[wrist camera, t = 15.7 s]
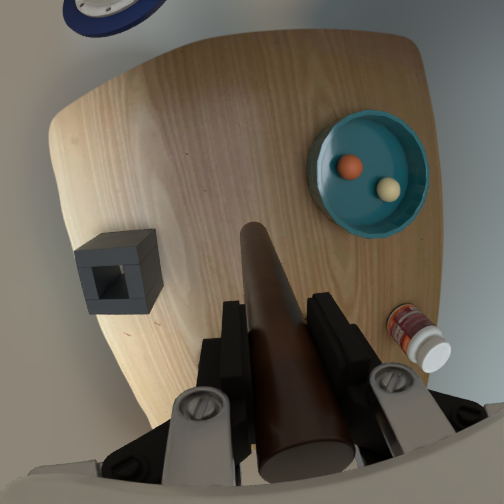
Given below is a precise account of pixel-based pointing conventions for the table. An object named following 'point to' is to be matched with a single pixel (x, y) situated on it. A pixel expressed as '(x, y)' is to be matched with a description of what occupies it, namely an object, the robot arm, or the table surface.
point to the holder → (110, 278)
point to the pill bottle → (418, 338)
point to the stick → (287, 375)
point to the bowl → (369, 173)
